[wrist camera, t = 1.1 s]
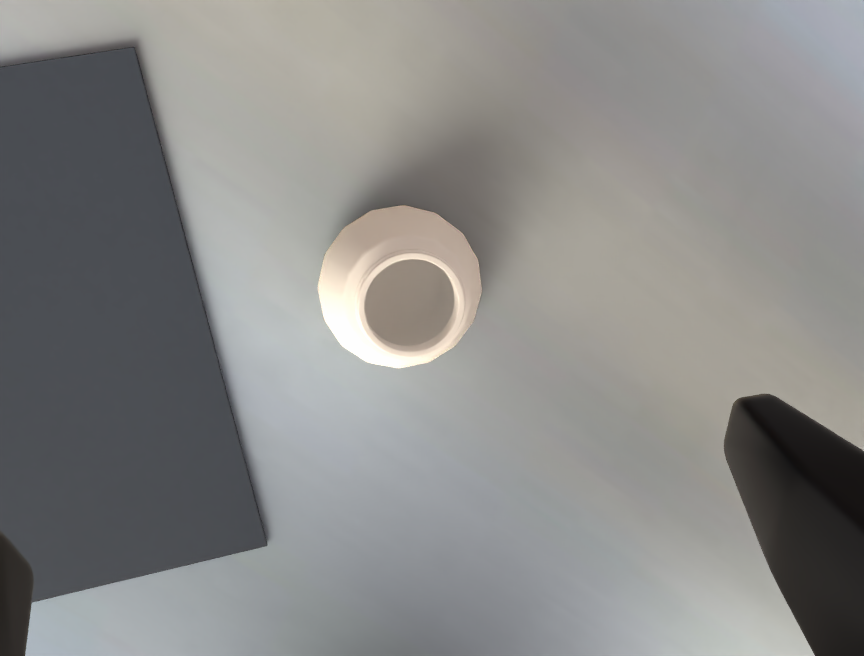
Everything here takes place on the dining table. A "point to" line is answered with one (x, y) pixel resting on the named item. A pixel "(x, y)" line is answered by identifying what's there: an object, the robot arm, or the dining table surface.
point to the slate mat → (105, 342)
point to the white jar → (399, 286)
